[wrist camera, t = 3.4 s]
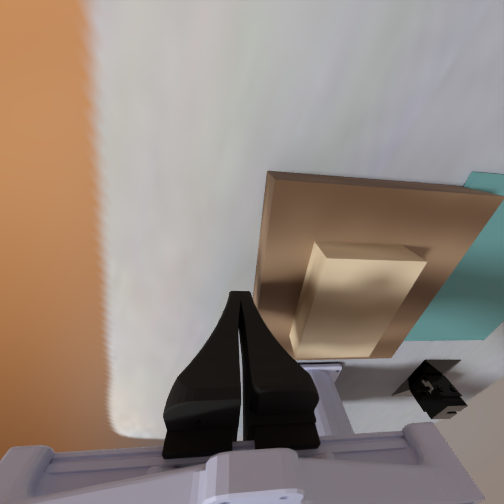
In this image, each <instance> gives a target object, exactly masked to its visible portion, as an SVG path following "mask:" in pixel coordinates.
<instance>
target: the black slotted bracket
mask: <svg viewBox="0 0 504 504" xmlns="http://www.w3.org/2000/svg"><path fill="white" fill-rule="evenodd" d="M460 361H461V360H424V361H423V362H422V363H421V365H420V366H419V367H418V368H417V369H416V370H415V371H414V372H413V373H412V374H411V375H410V376H409V377H408V379H407V380H406V381H405V382H404V383H403V384H402V385H401V386H400V387H399V388H398V389H397V390H396V391H395V392H394V394H393V395H392V396H414V398H415V399H416V401H417V402H418V404H419V405H420V406H421V408H422V409H423V411H424V412H427V414H428V415H429V417H430V418H431V419H450V418H451V417H453V416H454V415H455V414H457V413H456V411H461V410H462V409H464V408H465V407H467V405H466V403H465V402H464V401H463V400H462V398H461V396H462V395H461V394H460V393H459V392H458V391H457V390H456V388H455V387H454V386H453V385H452V384H451V383H450V382H449V380H448V379H447V378H446V377H445V376H444V375H446V374H447V373H448V372H449V371H450V370H451V369H452V368H453V367H454V366H455V365H457V364H458V363H459V362H460ZM432 388H434V389H433V390H432V391H431V389H432ZM429 391H431V393H430V392H429Z"/></svg>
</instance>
